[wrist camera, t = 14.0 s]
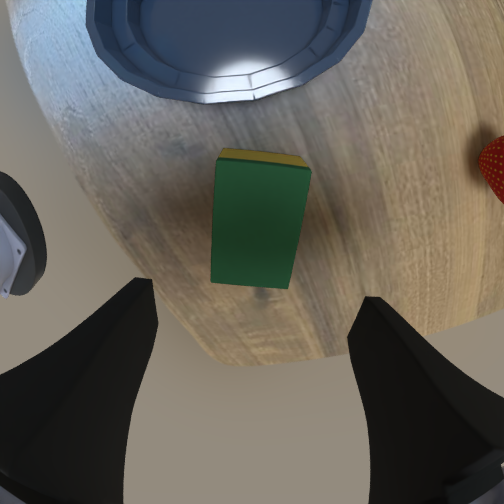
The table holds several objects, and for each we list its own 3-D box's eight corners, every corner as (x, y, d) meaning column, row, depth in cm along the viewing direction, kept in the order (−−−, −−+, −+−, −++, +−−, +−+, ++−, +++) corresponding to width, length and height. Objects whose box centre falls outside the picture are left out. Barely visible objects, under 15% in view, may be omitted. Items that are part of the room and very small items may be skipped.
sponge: (282, 257, 19) (288, 289, 16) (216, 251, 19) (210, 282, 16) (300, 156, 15) (312, 170, 12) (223, 148, 15) (215, 159, 12)
